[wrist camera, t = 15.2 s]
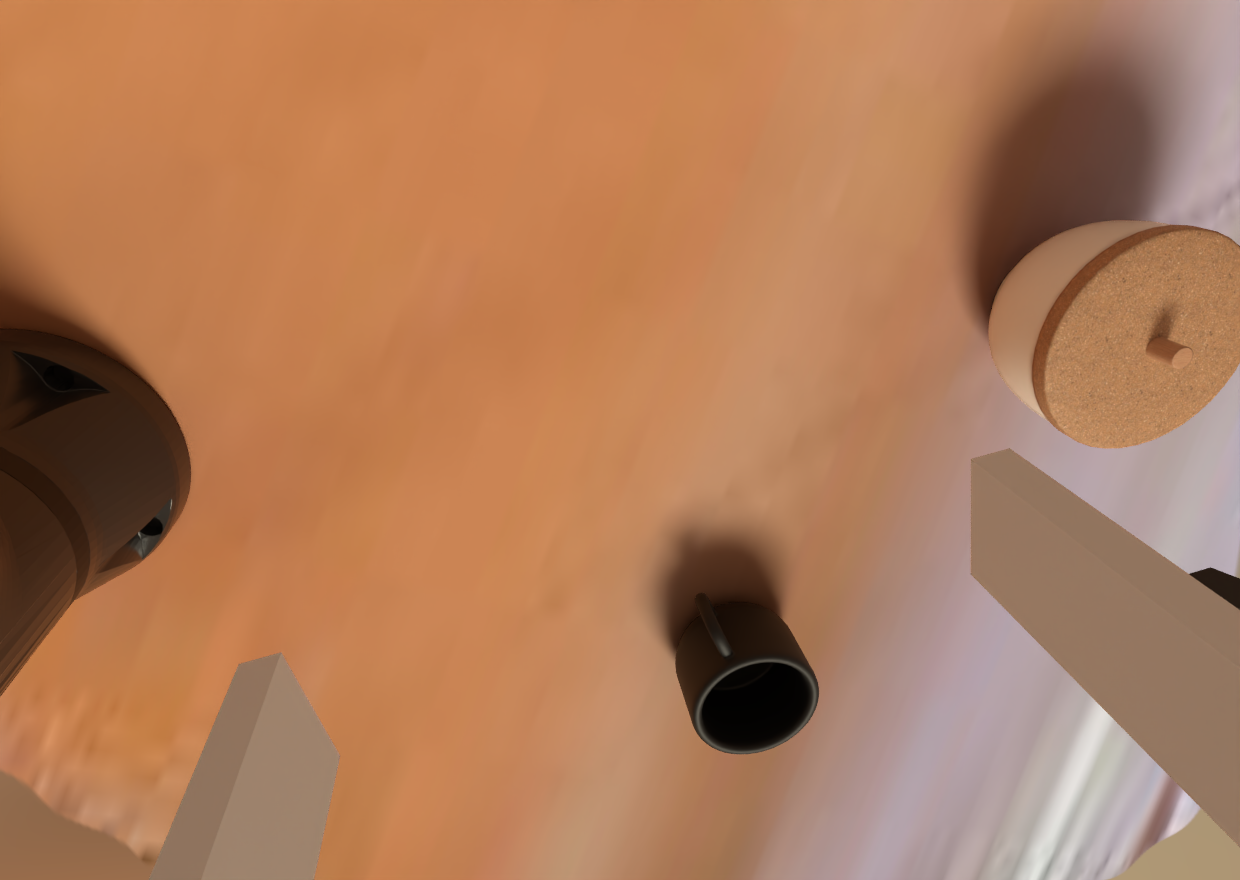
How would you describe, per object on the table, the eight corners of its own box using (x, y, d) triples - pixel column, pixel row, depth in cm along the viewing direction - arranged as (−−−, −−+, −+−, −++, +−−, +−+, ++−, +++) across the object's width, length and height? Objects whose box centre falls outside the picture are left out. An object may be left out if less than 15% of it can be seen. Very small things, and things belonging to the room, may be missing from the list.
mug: (799, 650, 59) (837, 719, 52) (697, 700, 59) (722, 775, 53) (744, 541, 53) (779, 603, 47) (632, 597, 54) (652, 667, 48)
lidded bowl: (1103, 384, 52) (1246, 454, 43) (937, 399, 51) (1045, 476, 41) (1156, 197, 47) (1333, 228, 37) (971, 207, 45) (1106, 242, 35)
